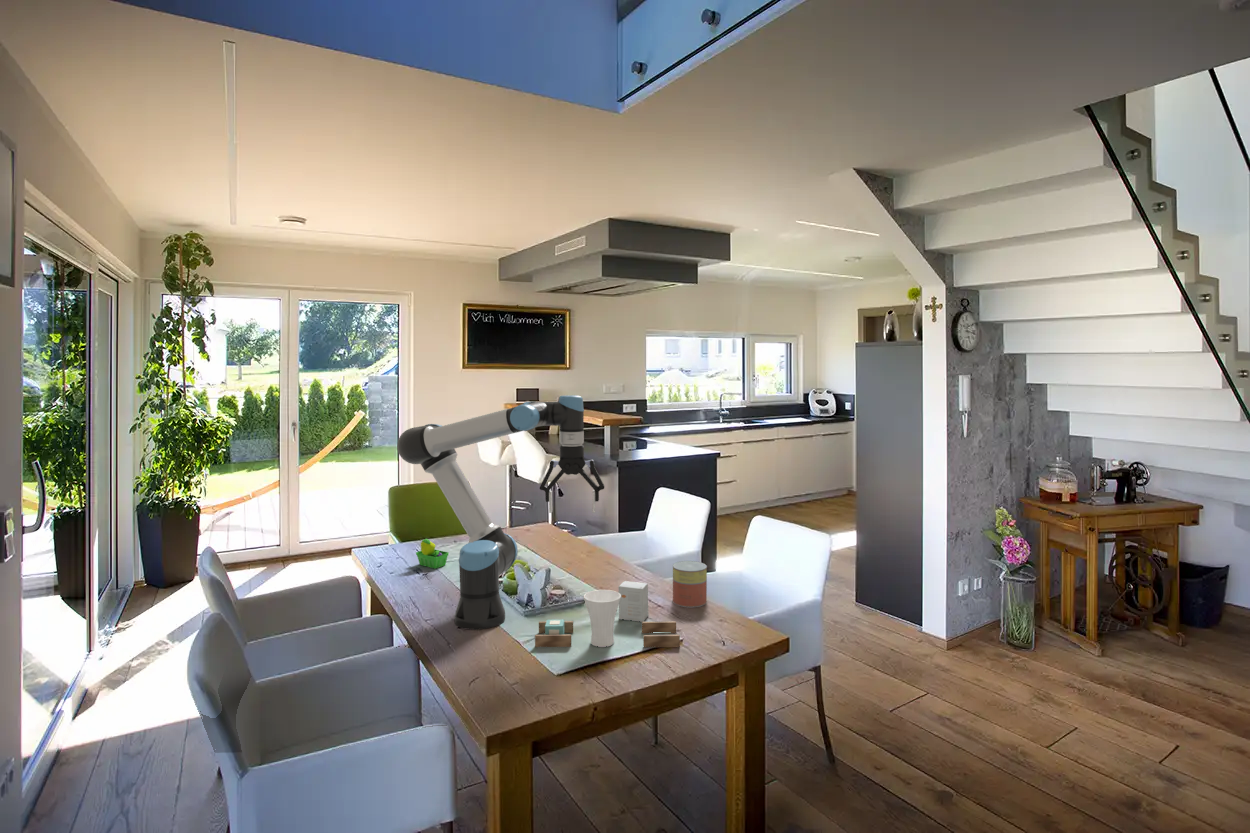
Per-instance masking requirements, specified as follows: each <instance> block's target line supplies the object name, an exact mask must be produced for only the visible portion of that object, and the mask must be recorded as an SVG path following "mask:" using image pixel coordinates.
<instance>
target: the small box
mask: <svg viewBox="0 0 1250 833" xmlns="http://www.w3.org/2000/svg"><path fill="white" fill-rule="evenodd" d="M617 588H618V593H620V594H621V598H620V601H619V604H618V619H619V620H622V619H624V621H630V620H632V621H633V622H639V621H640V623H642V622H645V621H646V619H647V618H648V616H649V584H648V582H637V581H628V580H624V581H623V582H621V583H620V585H618V587H617Z"/></svg>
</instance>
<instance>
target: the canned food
mask: <svg viewBox="0 0 1250 833" xmlns="http://www.w3.org/2000/svg"><path fill="white" fill-rule="evenodd" d="M707 568H708V565H706V564H705V563H703V562H701V561H695V560H681V561H677V562H675V563H672V603H673V604H674V605H676V606H679V607H683V608H699V607H703V606H705V605H706V604H708V603H707V602H708V600H707V592H708V591H707V589H708V588H707V586H708V584H707V582H708V581H707V580H708V579H707V578H708V577H707V575H708V572H707V571H708V570H707Z"/></svg>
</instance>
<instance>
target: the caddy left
mask: <svg viewBox="0 0 1250 833" xmlns="http://www.w3.org/2000/svg"><path fill="white" fill-rule="evenodd" d="M546 621H547V620H546ZM546 621H538V634H534V647H535V648H570V647H572V634H573V633H574V621H573V620H571V621H569V620H564V634H563V635H545V625H546Z"/></svg>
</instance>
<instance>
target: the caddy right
mask: <svg viewBox="0 0 1250 833" xmlns="http://www.w3.org/2000/svg"><path fill="white" fill-rule="evenodd" d="M653 632H671V633H670V634H654V633H653ZM641 634H643V640H642V641H643V644H642V645H643V646H644V647H643V648H680V646H681V642H680V641H681V638H680V637H681V636H680V634H677V621H675V620H674V621H672V620H671V621H666V620H665V621H643V622H641Z"/></svg>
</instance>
